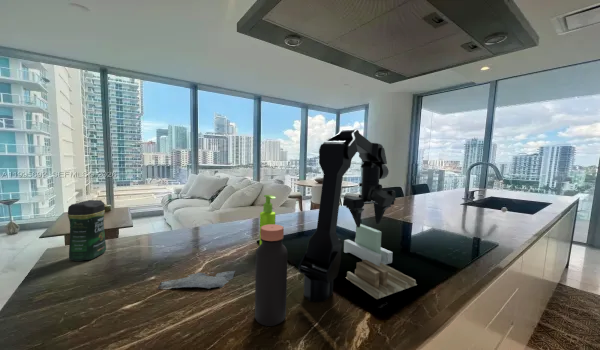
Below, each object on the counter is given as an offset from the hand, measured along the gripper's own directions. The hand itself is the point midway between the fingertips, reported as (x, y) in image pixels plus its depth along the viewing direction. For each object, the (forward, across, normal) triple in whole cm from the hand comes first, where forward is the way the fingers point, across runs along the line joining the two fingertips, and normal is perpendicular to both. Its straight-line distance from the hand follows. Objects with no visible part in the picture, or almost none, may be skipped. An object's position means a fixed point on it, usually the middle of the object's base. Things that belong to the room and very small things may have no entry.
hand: (368, 225), depth 86 cm
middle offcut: (+11, -12, -15) cm, 22 cm away
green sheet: (+11, 0, 0) cm, 11 cm away
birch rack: (+12, -9, -15) cm, 21 cm away
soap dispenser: (+12, -27, +25) cm, 39 cm away
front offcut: (+11, -15, -15) cm, 24 cm away
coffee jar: (+12, -84, +42) cm, 95 cm away
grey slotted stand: (+12, 0, 0) cm, 12 cm away
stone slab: (+12, -54, +9) cm, 56 cm away
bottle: (+12, -42, -14) cm, 46 cm away
